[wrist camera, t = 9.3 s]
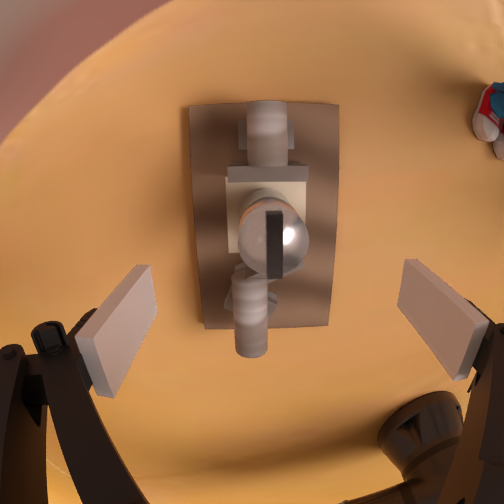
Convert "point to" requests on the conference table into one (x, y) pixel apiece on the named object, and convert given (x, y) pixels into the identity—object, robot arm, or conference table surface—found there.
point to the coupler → (271, 234)
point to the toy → (491, 117)
